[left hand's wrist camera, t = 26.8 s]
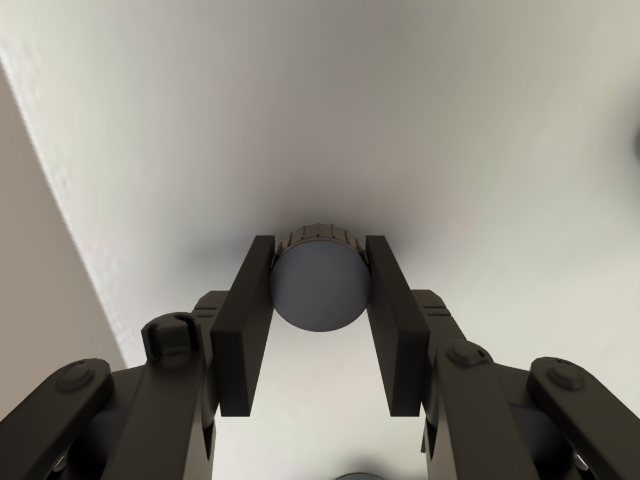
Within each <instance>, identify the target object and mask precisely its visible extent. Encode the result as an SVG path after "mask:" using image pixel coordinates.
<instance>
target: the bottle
mask: <svg viewBox="0 0 640 480" xmlns="http://www.w3.org/2000/svg"><path fill="white" fill-rule="evenodd" d="M337 480H383V479H381V478H379V477H377V476H374V475H370V474H351V475H346V476H343V477H341V478H339V479H337Z"/></svg>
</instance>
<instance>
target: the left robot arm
mask: <svg viewBox="0 0 640 480" xmlns="http://www.w3.org/2000/svg"><path fill="white" fill-rule="evenodd" d="M365 252H366V255H367V258H368V262H369V265H368V266H369V270H370V273H371V289H370V301H369V303H368V305H367V307H366V309H367V313H368V317H369V322H370V326H371V331H372V335H373V340H374V344H375V349H376V353H377V357H378V362H379V366H380V371H381V375H382V380H383V384H384V389H385V393H386V397H387V402H388V406H389V411H390V415H391V417H419V413H420V406H421V402H422V404H423V407H424V410H425V413H426V420H425V427H424V434H423V440H422V447H421V452H422V453H425V451H426V458H427V468H428V479H429V480H640V419H639V418H638V417H637V416H636V415H635V414H634V413H633V412H632V411H631V410H629V409H628V408H627V407H626V406H625V405H624V404H623V403H622V402H621V401H620V400H619V399H618V398H617V397H616V396H614V395H613V394H612V393H611V392H610V391H609V390H608V389H607V388H606V387H605V386H604V385H603V384H602V383H601V382H599V381H598V380H597V379H596V378H595V377H594V376H593V375H592V374H590V373H589V372H588V371H586V370H585V369H584V368H582V367H580V366H578V365H576V364H574V363H572V362H569V361H567V360H563V359H559V358H553V357H542V358H537V359H536V360H534V361H533V362H532V363H531V367H530V371H526V370H522V369H517V368H513V367H508V366H504V365H500V364H497V363H494V361H493V359H492V357H491V356H490V354H489V353H488V352H487V351H486V350H485V349H483V348H482V347H481V346H479V345H477V344H475V343H472V342H470V341H467V339H466V338H465V336H464V334H463V333H462V331H461V330H460V328H459V326H458V325H457V323H456V322H455V320H454V318H453V317H452V316H451V313H450V312H449V310H448V309H446V305H445V304H444V302H443V301H442V299H441V298H440V297H439V296H438V295H436V294H435V293H434V292H432V291H431V290H410V288H409V286H408V284H407V282H406V280H405V277H404V275H403V273H402V271H401V269H400V267H399V265H398V263H397V261H396V259H395V257H394V255H393V253H392V251H391V249H390V247H389V244H388V242H387V240H386V238H385V236H366V245H365ZM274 254H275V237H274V236H256V237H255V239H254V241H253V243H252V245H251V247H250V249H249V251H248V254H247V256H246V258H245V260H244V262H243V264H242V266H241V268H240V270H239V272H238V274H237V276H236V278H235V280H234V282H233V285H232V287H231V289H230V291H210V292H209V293H207V294H206V295H204V296H203V297H202V298H200V299H199V301H198V303H197V304H196V306H195V308H194V310H193V311H192V312H191V313H188V312H175V313H169V314H165V315H162V316H160V317H157V318H155V319H153V320H152V321H150V322H149V323H147V324H146V325H145V326H144V327H143V329H142V330H141V334H142V338H143V343H144V347H145V352H146V356H147V362H146V364H145V365H141V366H138V367H134V368H130V369H125V370H121V371H116V372H111V369H110V365H109V364H108V363H107V362H106V361H105V360H102V359H97V358H92V359H83V360H79V361H76V362H73V363H70V364H68V365H66V366H64V367H62V368H60V369H58V370H57V371H55V372H54V373H53V374H51V375H50V376H49V377H48V378H46V379H45V380H44V381H43V382H42V383H41V384H40V385H39V386H38V387H37V388H36V389H35V390H34V391H33V392H32V393H31V394H29V395H28V396H27V397H26V398H25V399H24V400H23V401H22V402H21V403H20V404H19V405H18V406H17V407H16V408H15V409H14V410H12V411H11V412H10V413H9V414H8V415H7V416H6V417H5V418H4V419H3V420H2V421H1V422H0V480H212V469H213V459H214V448H215V438H216V427H215V420H214V416H215V413H216V410H217V407H218V404H219V403H220V410H221V417H250V413H251V408H252V404H253V399H254V395H255V390H256V386H257V381H258V377H259V373H260V368H261V364H262V359H263V355H264V350H265V346H266V341H267V337H268V333H269V328H270V324H271V319H272V315H273V310H274V306H273V304H272V302H271V299H270V283H269V275H270V271H271V269H270V267H271V263H272V260H273V257H274ZM577 455H579V456H580V457H581V459H582V460H583V461H584V463H585V464H586V465H587V466H588V467H587V466H586V465H585V464H584V463H583V462H582V461H581V460H580V458H579V457H578V456H577ZM62 457H63V458H62ZM61 458H62V460H61V461H60V462H59V460H60V459H61ZM58 462H59V464H58V465H57V466H56V464H57V463H58Z"/></svg>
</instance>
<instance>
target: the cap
mask: <svg viewBox="0 0 640 480" xmlns="http://www.w3.org/2000/svg"><path fill="white" fill-rule="evenodd" d="M368 265H369V262H368V258H367V255H366V252H365V250H363V249H362V247H361V245H360V244H359V241H358V239H355V238H354V237H353V236H352V235H350V234H349V233H348V231H347V230H345V231H344V230H343V229H340V228H338V227H335V226H334V225H332V226H331V225H324V224H319V223H317V225H310V226H306V227H305V226H302V228H300V229H298V230H296V231H294V232H293V233H292V232H290V233H289V236H288V237H287V238H285V239H284V241H283V242H280V244H279V247H278V250H277V252H276V254H274V257H273V260H272V263H271V267H270V269H271V271H270V275H269V283H270V299H271V302H272V304H273V306H274V308H275V309H276V311H277V312H278V313H279V314H280V315H281V317H282V318H284V319H285V320H286V321H287V322H289V323H290V324H292V325H294V326H296V327H298V328H301V329H304V330H308V331H314V332H326V331H333V330H337V329H340V328H342V327H345V326H347V325H349V324H350V323H352V322H353V321H354V320H356V319H357V318H358V317H359V316H360V315H361V314H362V313H363V311H364V310H365V309H366V307H367V305H368V303H369V301H370V289H371V273H370V270H369V266H368Z"/></svg>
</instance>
